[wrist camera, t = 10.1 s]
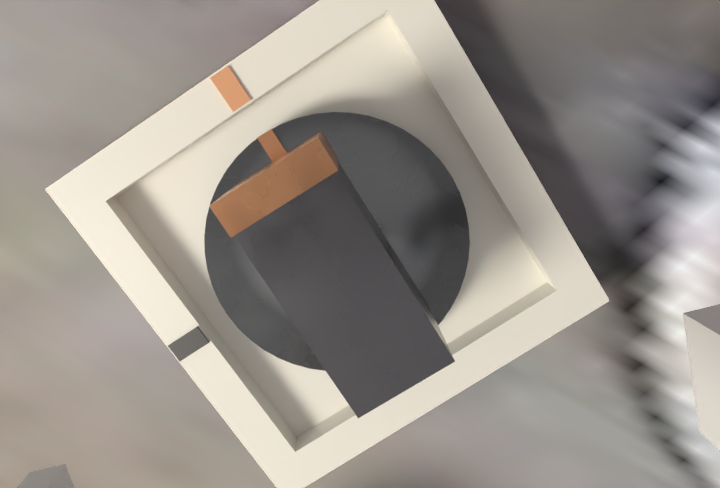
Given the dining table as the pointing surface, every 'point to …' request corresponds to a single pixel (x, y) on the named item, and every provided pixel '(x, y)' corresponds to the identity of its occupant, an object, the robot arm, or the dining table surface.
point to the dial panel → (282, 104)
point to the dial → (341, 251)
